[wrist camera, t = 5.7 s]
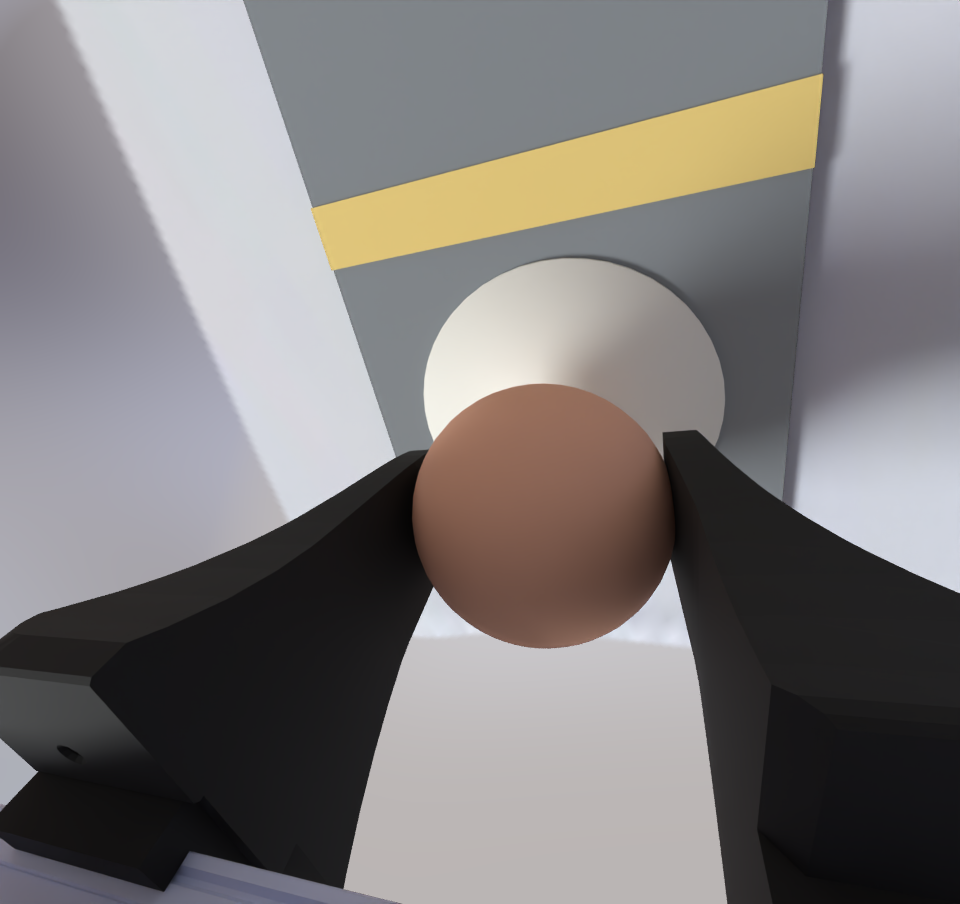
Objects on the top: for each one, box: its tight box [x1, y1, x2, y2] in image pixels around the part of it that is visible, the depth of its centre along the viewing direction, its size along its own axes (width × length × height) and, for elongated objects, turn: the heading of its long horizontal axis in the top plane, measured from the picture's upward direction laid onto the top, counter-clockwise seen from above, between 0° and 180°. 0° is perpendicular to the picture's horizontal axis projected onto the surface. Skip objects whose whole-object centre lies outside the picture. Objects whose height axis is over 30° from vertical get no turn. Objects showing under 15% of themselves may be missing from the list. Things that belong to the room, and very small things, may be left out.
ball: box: [412, 383, 675, 648], centre depth 10 cm, size 5×5×5 cm
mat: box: [243, 0, 828, 501], centre depth 11 cm, size 22×11×1 cm, turn 12°
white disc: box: [424, 258, 725, 460], centre depth 13 cm, size 8×8×1 cm
